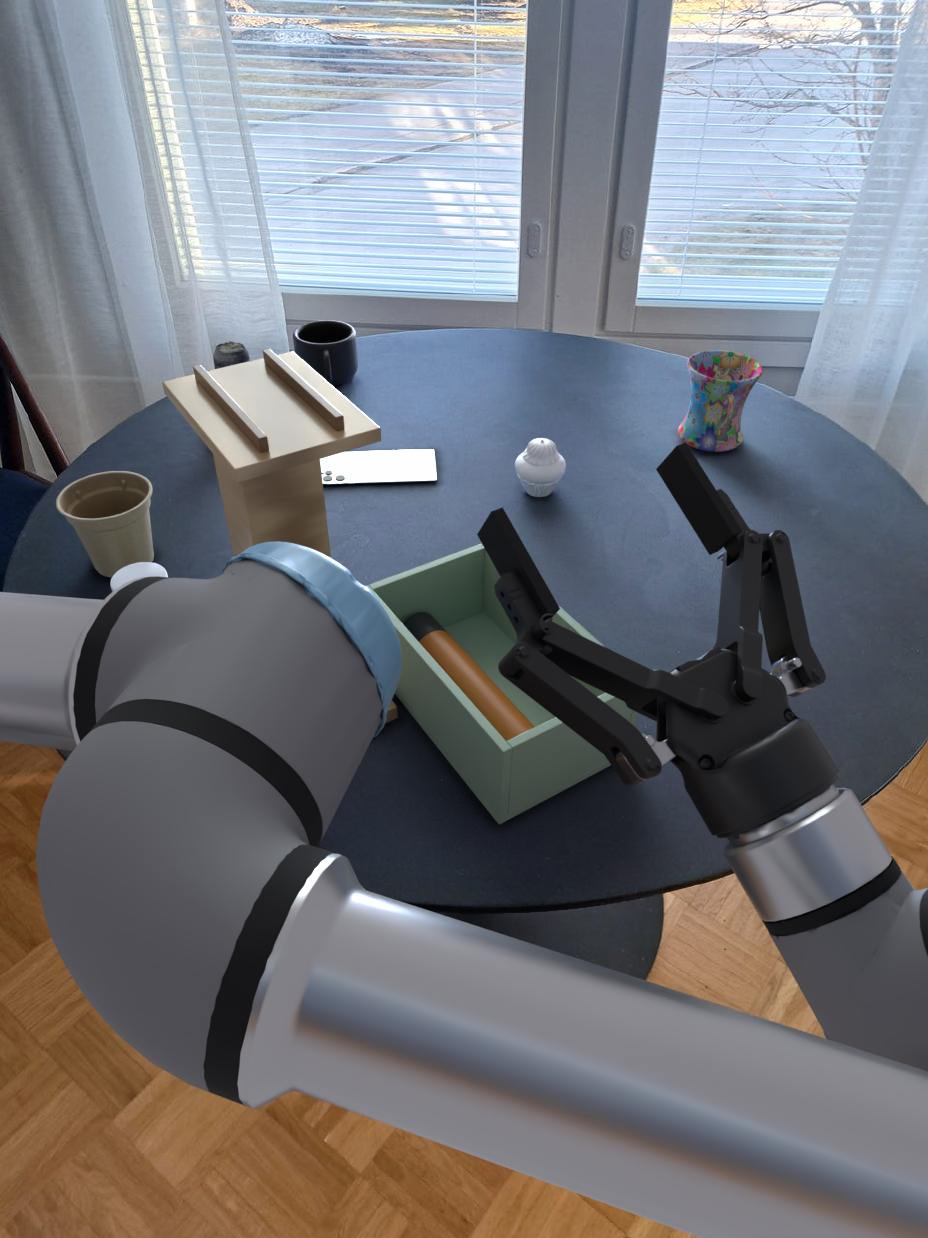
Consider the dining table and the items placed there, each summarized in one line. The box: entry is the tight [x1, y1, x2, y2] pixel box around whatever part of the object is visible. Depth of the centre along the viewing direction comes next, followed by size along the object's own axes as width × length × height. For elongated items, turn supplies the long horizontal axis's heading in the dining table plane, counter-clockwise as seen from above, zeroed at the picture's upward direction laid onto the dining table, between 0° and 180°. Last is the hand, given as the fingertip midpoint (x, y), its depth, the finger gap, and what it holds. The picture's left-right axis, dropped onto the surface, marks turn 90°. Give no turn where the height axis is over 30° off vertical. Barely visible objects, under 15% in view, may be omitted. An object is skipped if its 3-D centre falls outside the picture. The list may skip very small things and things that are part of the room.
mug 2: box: [677, 349, 764, 453], centre depth 112 cm, size 12×9×11 cm
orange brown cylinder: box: [403, 612, 535, 742], centre depth 77 cm, size 4×19×4 cm, turn 32°
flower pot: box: [55, 470, 155, 579], centre depth 92 cm, size 9×9×9 cm
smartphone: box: [320, 448, 438, 487], centre depth 110 cm, size 8×1×16 cm
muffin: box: [514, 437, 567, 498], centre depth 104 cm, size 6×6×7 cm
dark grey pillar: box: [212, 340, 251, 369], centre depth 112 cm, size 9×8×12 cm
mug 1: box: [292, 319, 359, 387], centre depth 126 cm, size 12×9×7 cm
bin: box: [364, 542, 639, 825], centre depth 76 cm, size 14×23×9 cm, turn 32°
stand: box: [161, 348, 399, 724], centre depth 68 cm, size 12×14×31 cm
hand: (584, 486), depth 52 cm, fingers open, 13 cm apart
